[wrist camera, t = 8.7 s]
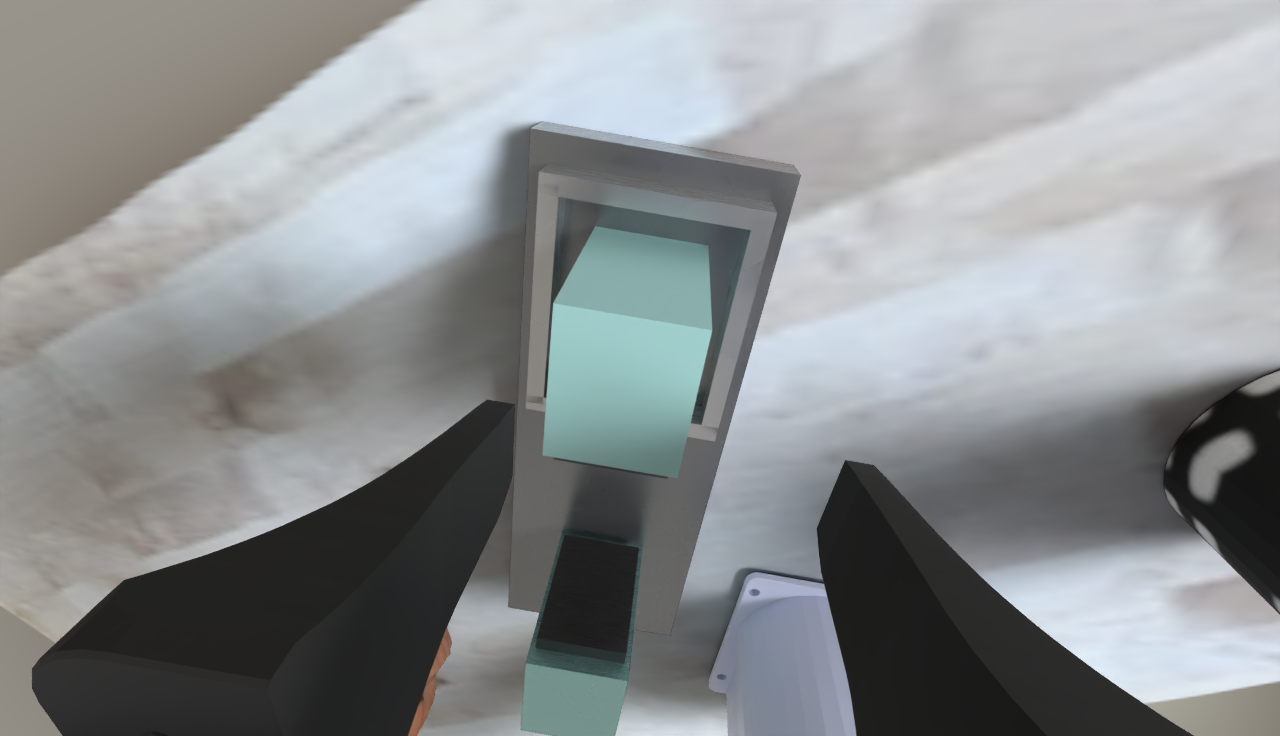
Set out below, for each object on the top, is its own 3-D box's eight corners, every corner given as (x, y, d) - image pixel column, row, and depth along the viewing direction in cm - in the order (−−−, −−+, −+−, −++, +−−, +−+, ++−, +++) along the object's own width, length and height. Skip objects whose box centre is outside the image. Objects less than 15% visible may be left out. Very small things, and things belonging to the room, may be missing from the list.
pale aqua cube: (595, 226, 18) (553, 303, 13) (708, 245, 18) (712, 329, 13) (581, 362, 20) (541, 472, 15) (679, 379, 20) (674, 495, 15)
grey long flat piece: (670, 608, 29) (663, 772, 23) (516, 581, 29) (464, 737, 23) (793, 165, 18) (847, 237, 11) (542, 121, 18) (454, 169, 11)
